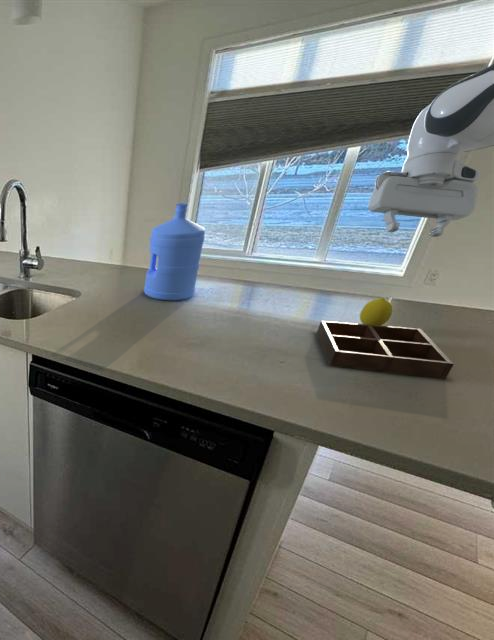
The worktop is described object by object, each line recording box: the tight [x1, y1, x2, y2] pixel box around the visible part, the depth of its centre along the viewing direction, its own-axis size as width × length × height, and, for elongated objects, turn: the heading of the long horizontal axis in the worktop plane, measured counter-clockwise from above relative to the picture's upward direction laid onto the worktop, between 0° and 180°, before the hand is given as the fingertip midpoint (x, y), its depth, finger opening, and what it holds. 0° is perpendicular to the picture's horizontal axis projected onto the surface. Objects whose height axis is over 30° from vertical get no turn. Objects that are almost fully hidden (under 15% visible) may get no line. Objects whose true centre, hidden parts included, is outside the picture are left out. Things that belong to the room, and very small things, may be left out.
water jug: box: [143, 202, 206, 302], centre depth 129 cm, size 16×16×28 cm
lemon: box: [359, 297, 393, 326], centre depth 100 cm, size 6×6×8 cm
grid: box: [315, 320, 455, 380], centre depth 90 cm, size 18×18×4 cm
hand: (413, 233), depth 96 cm, fingers open, 8 cm apart
